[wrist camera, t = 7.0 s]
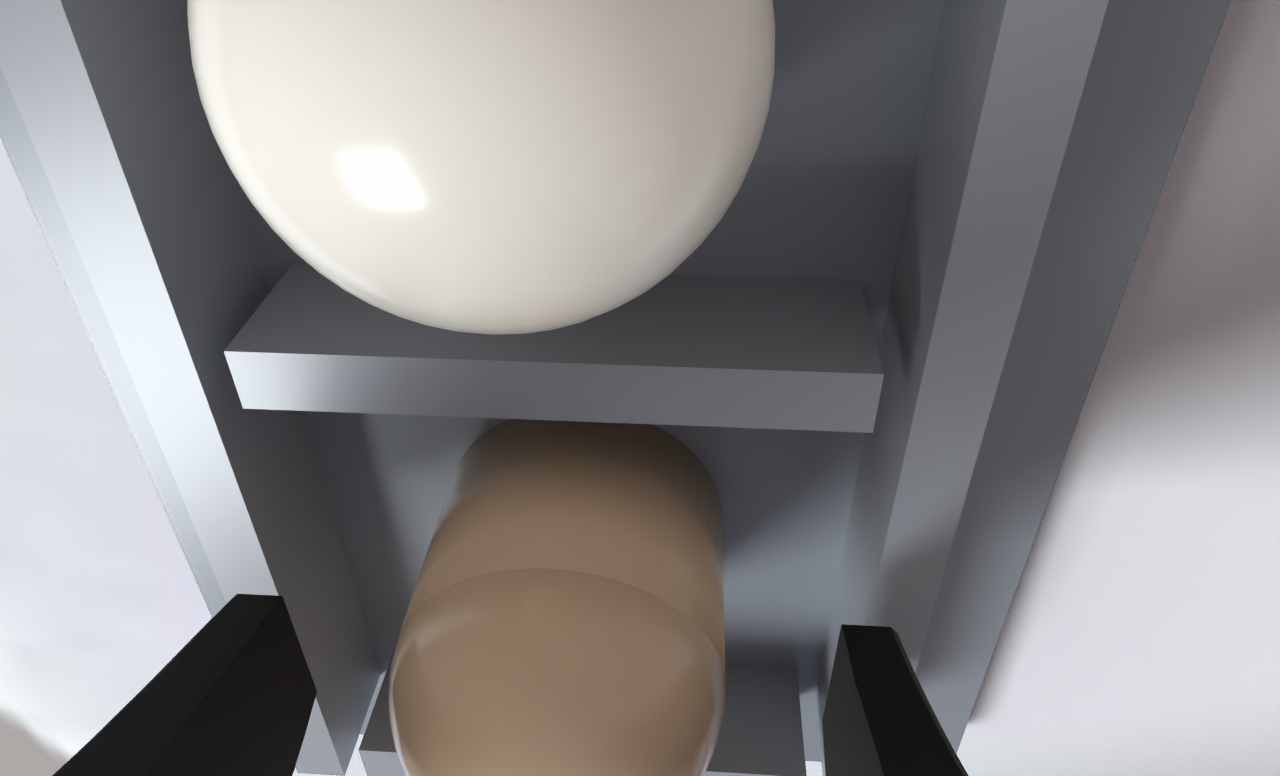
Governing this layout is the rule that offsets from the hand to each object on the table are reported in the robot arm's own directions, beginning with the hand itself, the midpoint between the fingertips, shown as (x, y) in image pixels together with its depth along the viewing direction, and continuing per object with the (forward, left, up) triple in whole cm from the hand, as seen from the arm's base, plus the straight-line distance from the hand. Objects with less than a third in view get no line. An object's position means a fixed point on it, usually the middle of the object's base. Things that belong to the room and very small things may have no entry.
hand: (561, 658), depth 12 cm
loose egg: (0, 0, -3) cm, 3 cm away
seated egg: (+8, 0, -3) cm, 8 cm away
